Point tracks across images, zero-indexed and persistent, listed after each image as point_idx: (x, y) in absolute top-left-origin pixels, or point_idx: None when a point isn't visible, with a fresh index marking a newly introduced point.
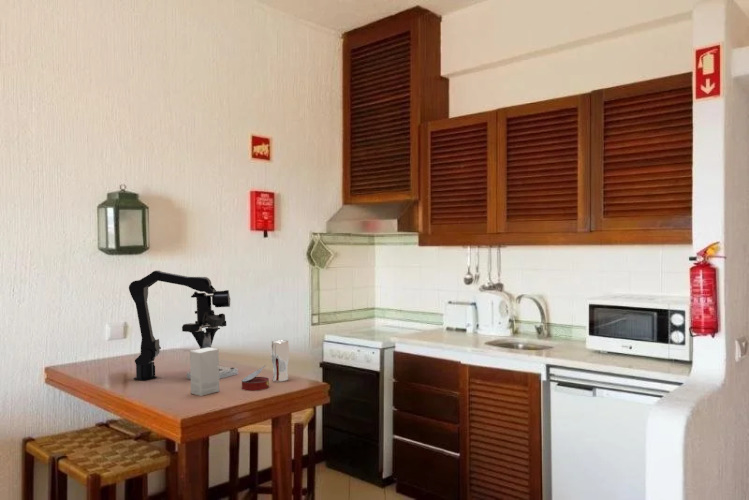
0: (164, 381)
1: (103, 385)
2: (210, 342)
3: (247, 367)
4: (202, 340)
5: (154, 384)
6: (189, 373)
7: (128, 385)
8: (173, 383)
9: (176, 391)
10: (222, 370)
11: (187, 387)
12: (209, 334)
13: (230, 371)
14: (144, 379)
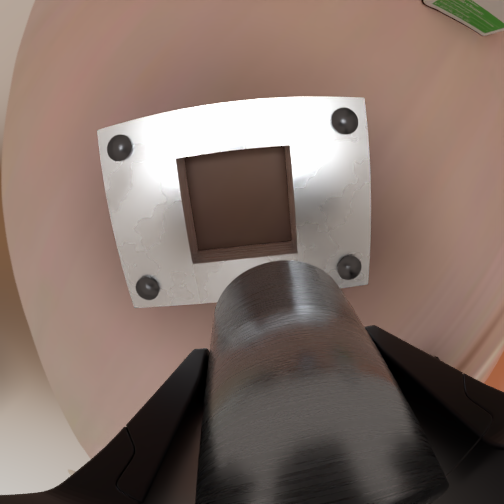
0: (428, 299)
1: (486, 370)
2: (257, 333)
3: (17, 244)
4: (418, 378)
5: (469, 280)
6: (368, 261)
7: (486, 329)
8: (443, 232)
9: (499, 106)
10: (197, 146)
11: (459, 110)
12: (314, 482)
13: (159, 115)
14: (438, 359)
